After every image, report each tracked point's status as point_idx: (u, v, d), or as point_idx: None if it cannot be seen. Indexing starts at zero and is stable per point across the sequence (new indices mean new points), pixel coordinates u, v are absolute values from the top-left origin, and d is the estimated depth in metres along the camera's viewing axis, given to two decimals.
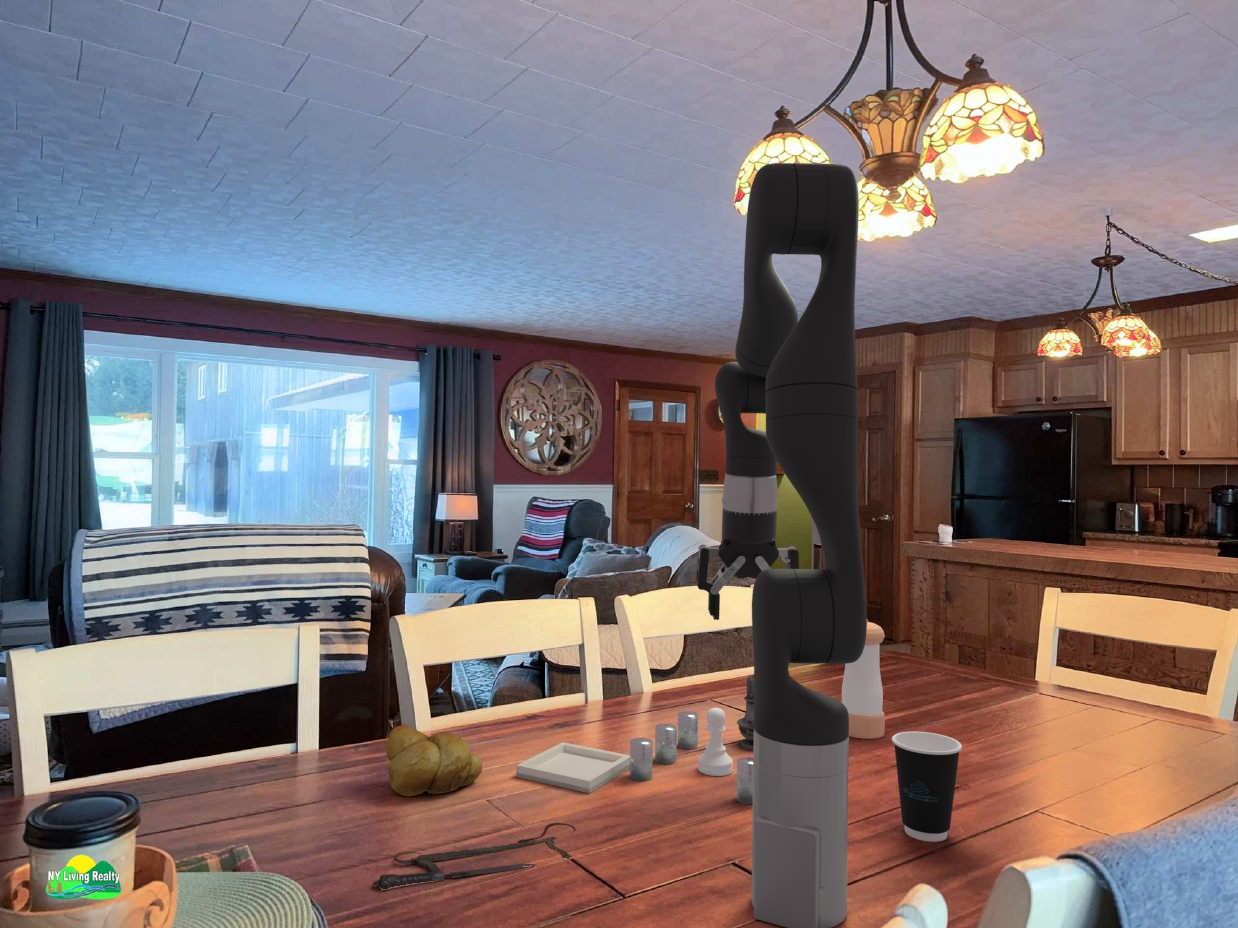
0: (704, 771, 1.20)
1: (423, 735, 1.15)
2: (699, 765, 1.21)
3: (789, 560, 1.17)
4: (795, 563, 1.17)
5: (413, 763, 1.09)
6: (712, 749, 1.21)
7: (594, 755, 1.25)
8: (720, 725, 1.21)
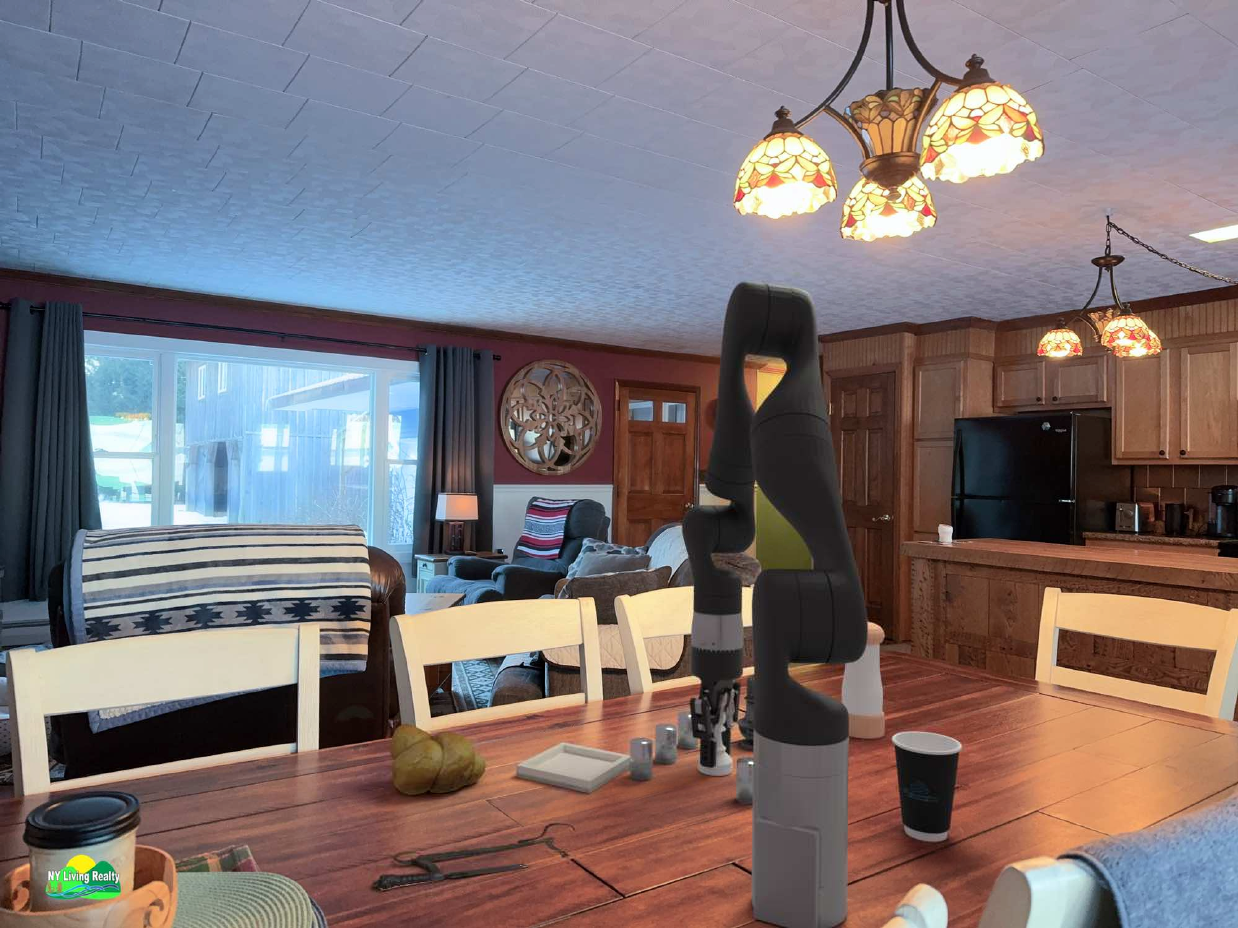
0: (704, 771, 1.20)
1: (426, 734, 1.15)
2: (699, 765, 1.21)
3: (737, 692, 1.26)
4: (738, 695, 1.26)
5: (416, 762, 1.09)
6: None
7: (594, 755, 1.25)
8: (720, 725, 1.21)
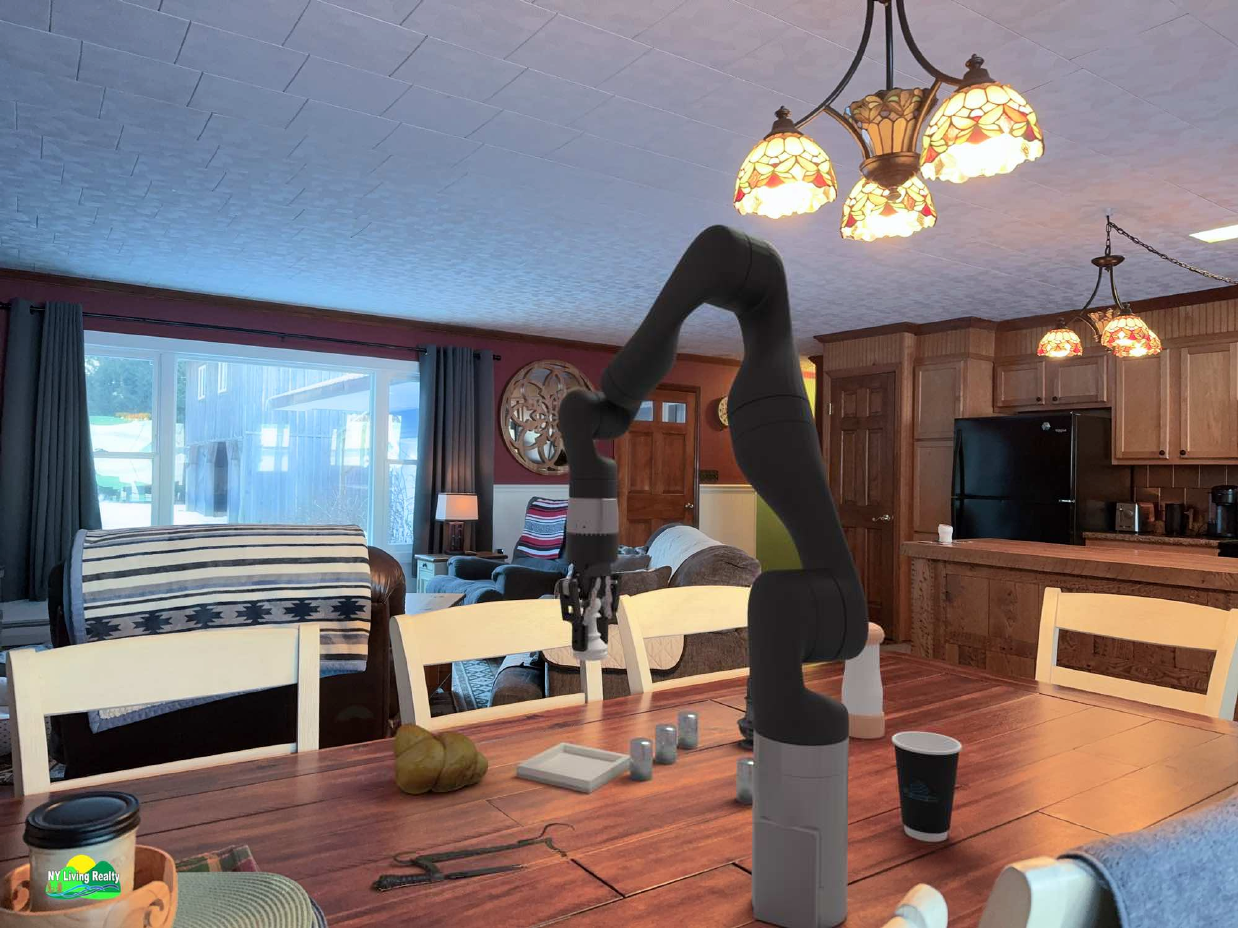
0: (577, 656, 1.19)
1: (429, 733, 1.15)
2: (573, 651, 1.21)
3: (617, 582, 1.25)
4: (619, 586, 1.26)
5: (418, 762, 1.10)
6: None
7: (594, 755, 1.25)
8: (594, 611, 1.20)
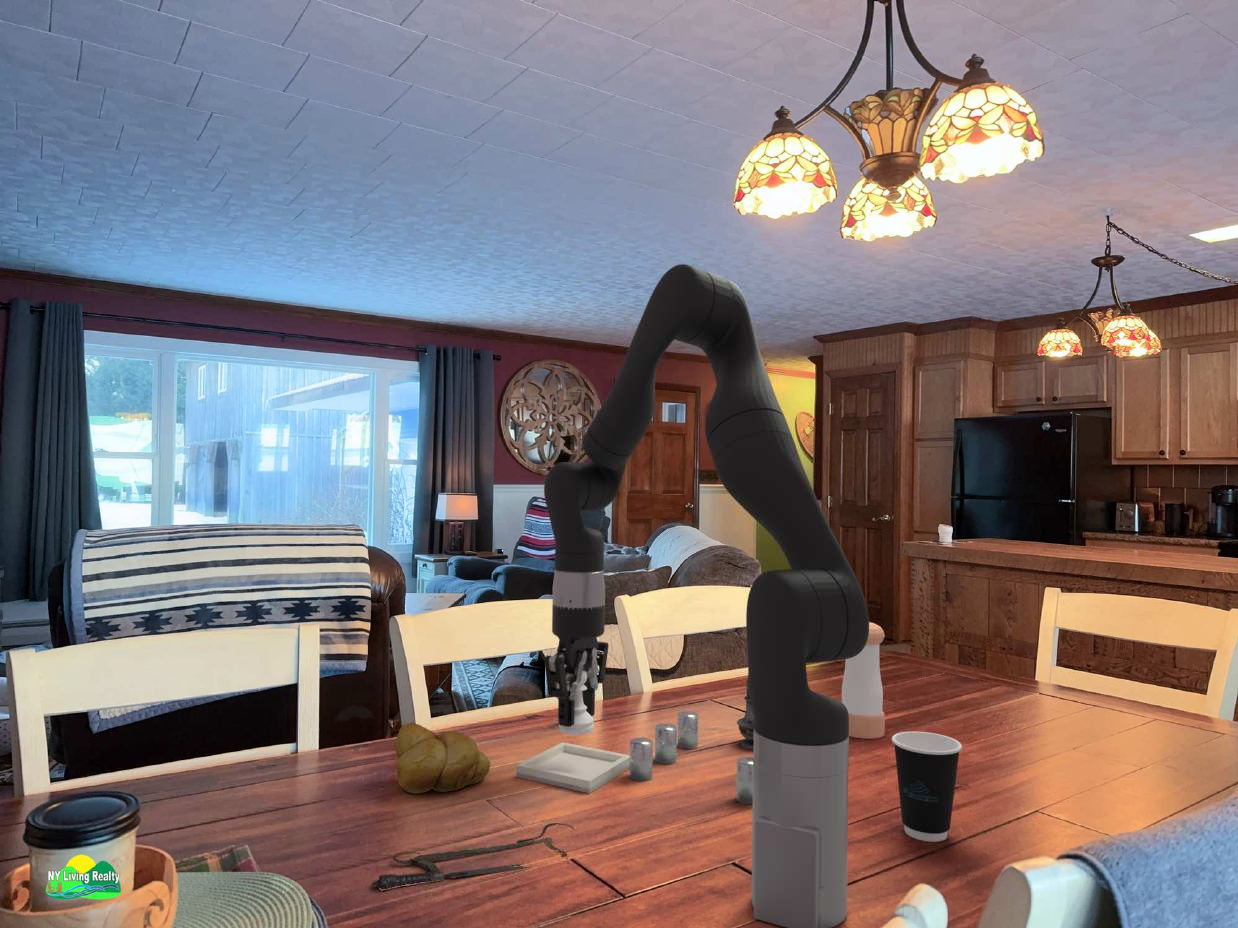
0: (563, 730, 1.19)
1: (431, 733, 1.16)
2: (559, 725, 1.20)
3: (603, 652, 1.25)
4: (605, 656, 1.25)
5: (420, 761, 1.10)
6: None
7: (594, 755, 1.25)
8: (580, 684, 1.20)
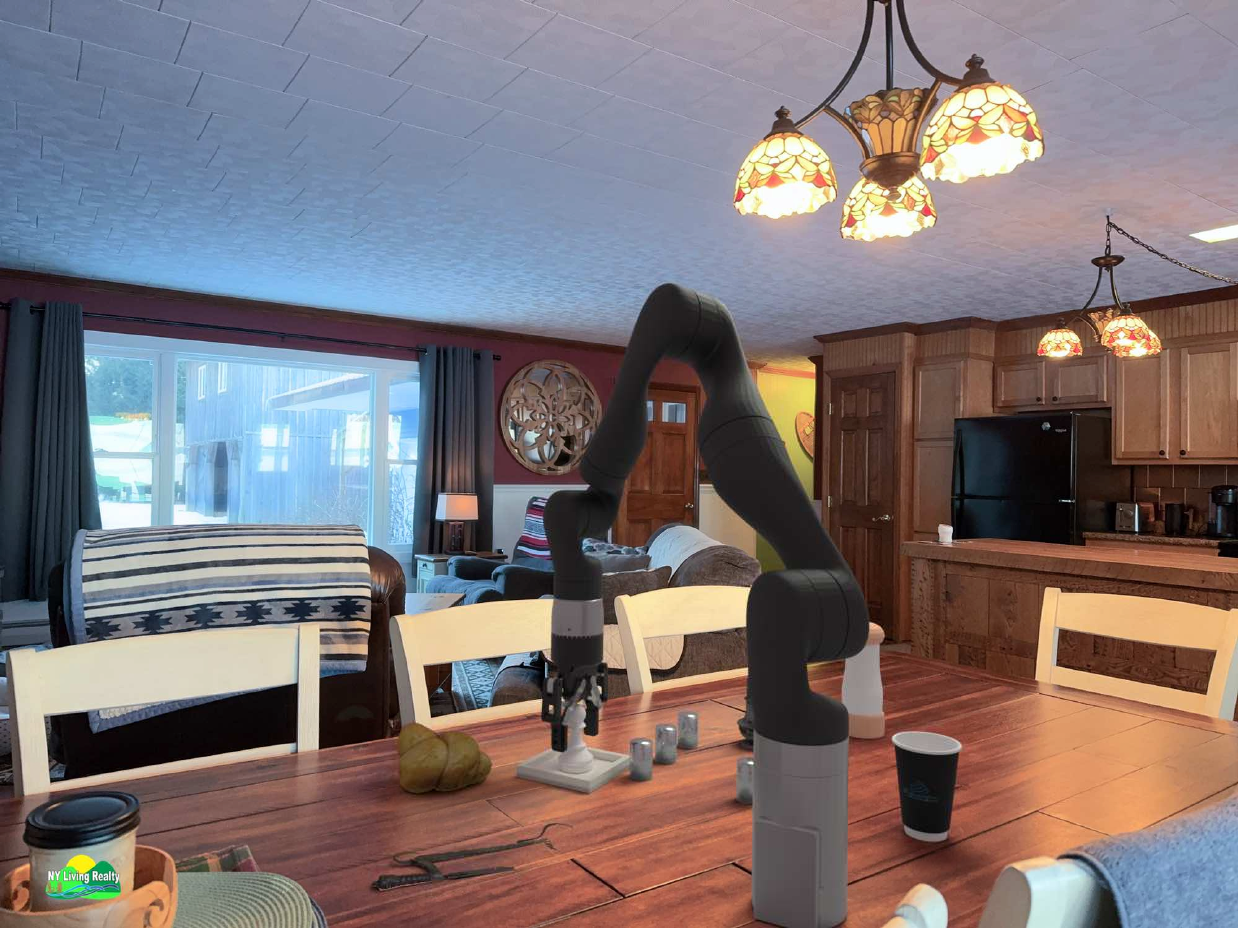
0: (562, 768, 1.18)
1: (433, 732, 1.16)
2: (558, 762, 1.20)
3: (603, 674, 1.25)
4: (606, 675, 1.26)
5: (421, 761, 1.10)
6: (571, 746, 1.19)
7: (594, 755, 1.25)
8: (579, 722, 1.19)
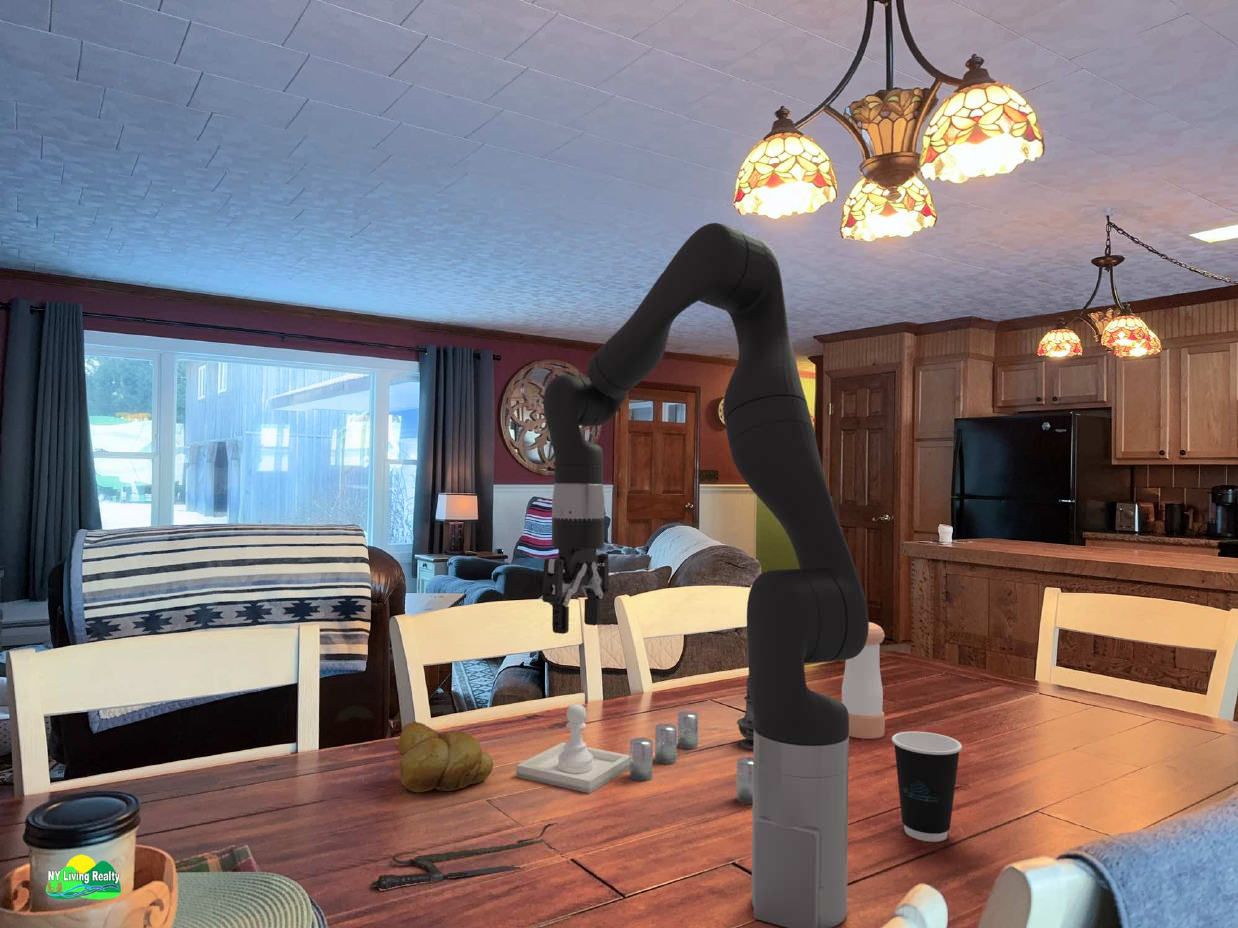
0: (562, 768, 1.18)
1: (434, 732, 1.16)
2: (558, 762, 1.20)
3: (604, 564, 1.25)
4: (606, 566, 1.26)
5: (422, 760, 1.10)
6: (571, 746, 1.19)
7: (594, 755, 1.25)
8: (579, 722, 1.19)
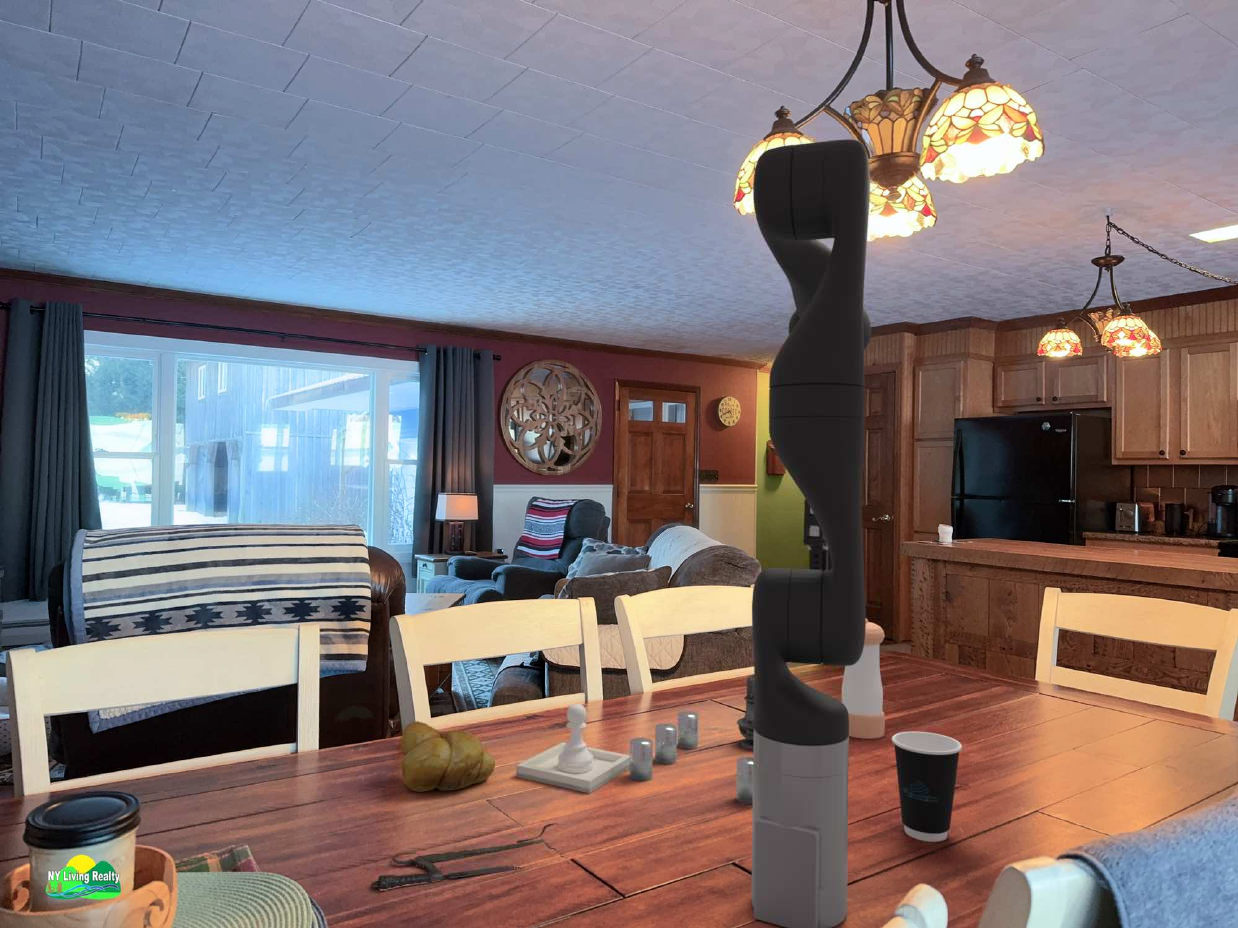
0: (562, 768, 1.18)
1: (436, 732, 1.16)
2: (558, 762, 1.20)
3: None
4: None
5: (423, 760, 1.10)
6: (571, 746, 1.19)
7: (594, 755, 1.25)
8: (580, 722, 1.19)
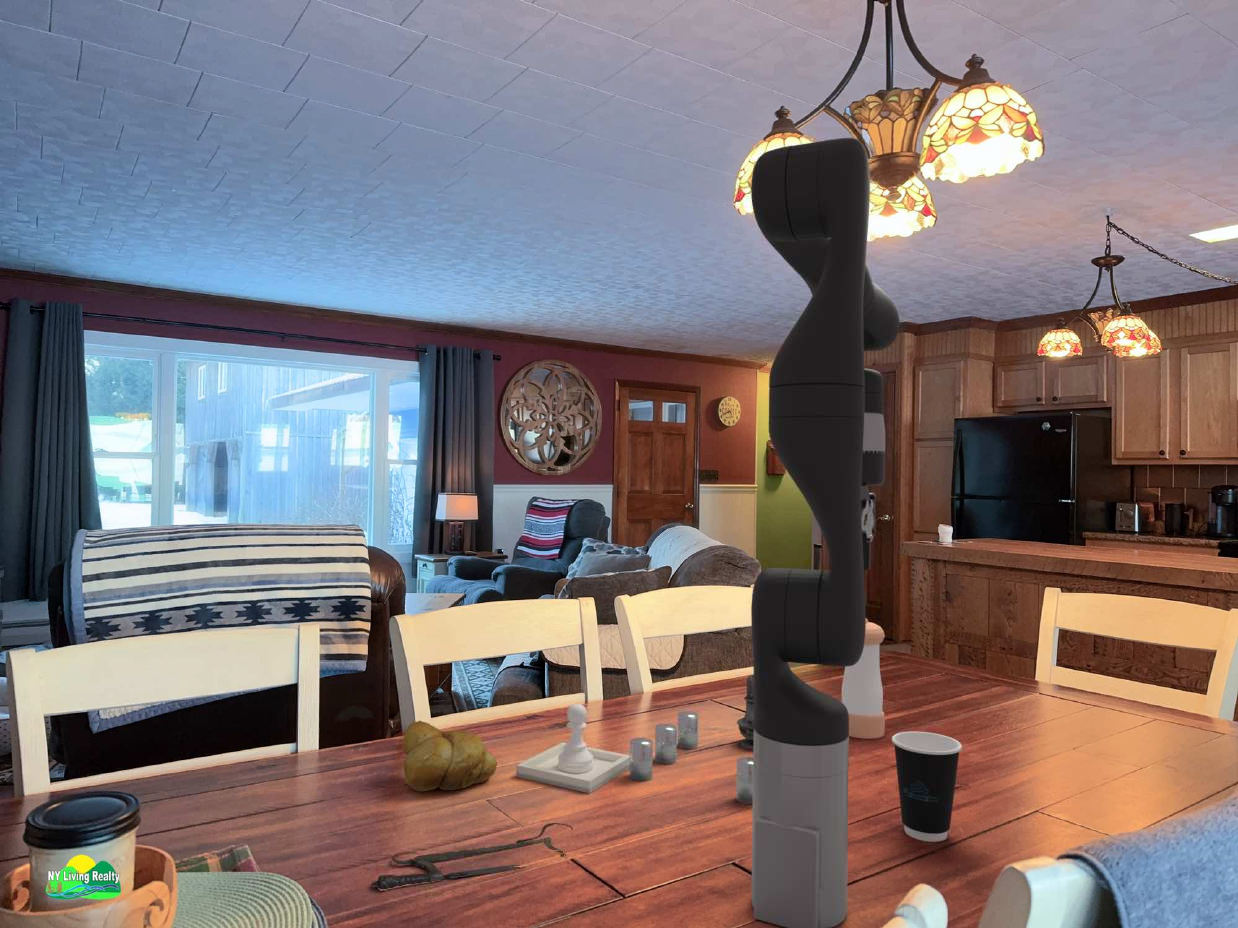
0: (562, 768, 1.18)
1: (439, 731, 1.16)
2: (559, 762, 1.20)
3: (873, 504, 1.15)
4: (874, 507, 1.16)
5: (425, 759, 1.11)
6: (571, 745, 1.19)
7: (594, 755, 1.25)
8: (580, 722, 1.19)
